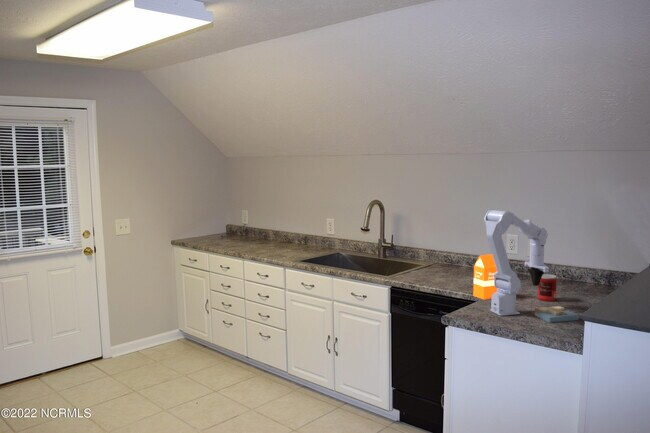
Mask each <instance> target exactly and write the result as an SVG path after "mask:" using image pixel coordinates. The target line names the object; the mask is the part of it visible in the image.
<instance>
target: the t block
mask: <svg viewBox="0 0 650 433" xmlns="http://www.w3.org/2000/svg"><path fill="white" fill-rule="evenodd" d="M563 310H566V307H563V306H560V305H559V306H548V307H547V306H546V307H536V308H534V316H536V317H537V318H538V313H540V312H548V313H551V314H553V315H555V316H560V315H565V312H564V311H563Z"/></svg>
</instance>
